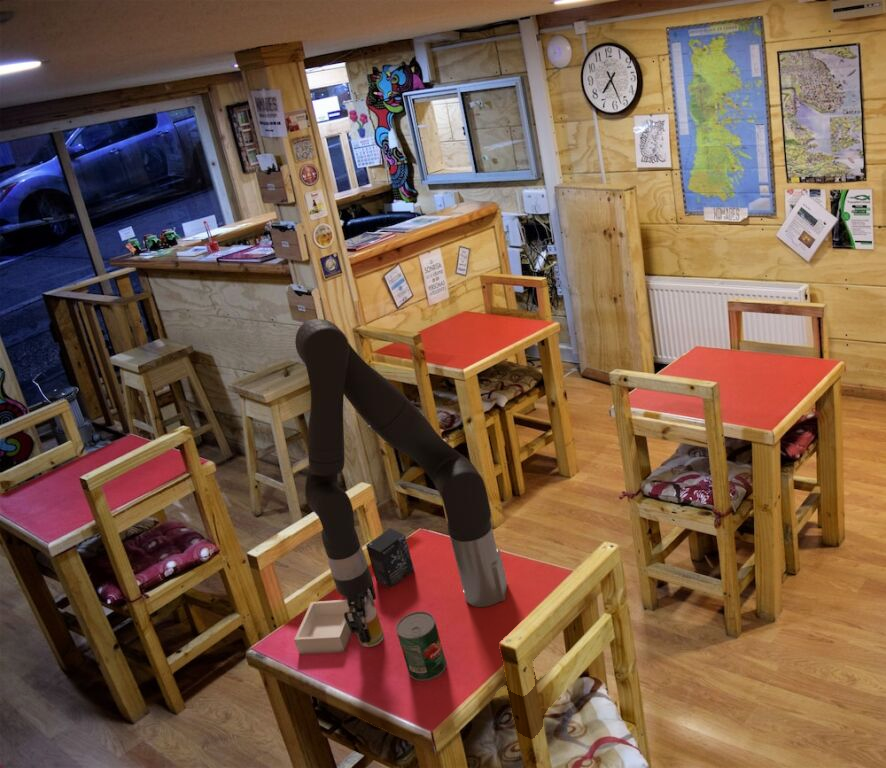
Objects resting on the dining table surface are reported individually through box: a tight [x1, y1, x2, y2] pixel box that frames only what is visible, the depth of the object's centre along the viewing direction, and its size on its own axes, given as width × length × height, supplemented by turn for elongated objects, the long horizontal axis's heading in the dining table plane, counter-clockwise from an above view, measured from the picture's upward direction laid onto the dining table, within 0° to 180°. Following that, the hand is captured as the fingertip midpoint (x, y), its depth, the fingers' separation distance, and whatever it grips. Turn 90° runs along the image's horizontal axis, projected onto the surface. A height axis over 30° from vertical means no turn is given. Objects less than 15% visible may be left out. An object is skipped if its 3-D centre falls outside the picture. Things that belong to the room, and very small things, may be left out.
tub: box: [293, 599, 353, 655], centre depth 194 cm, size 10×12×4 cm
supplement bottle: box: [356, 598, 384, 648], centre depth 187 cm, size 5×5×10 cm
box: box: [365, 528, 415, 589], centre depth 207 cm, size 8×6×11 cm
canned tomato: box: [395, 610, 447, 682], centre depth 176 cm, size 8×8×11 cm
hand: (369, 631), depth 189 cm, fingers closed on supplement bottle, 5 cm apart
